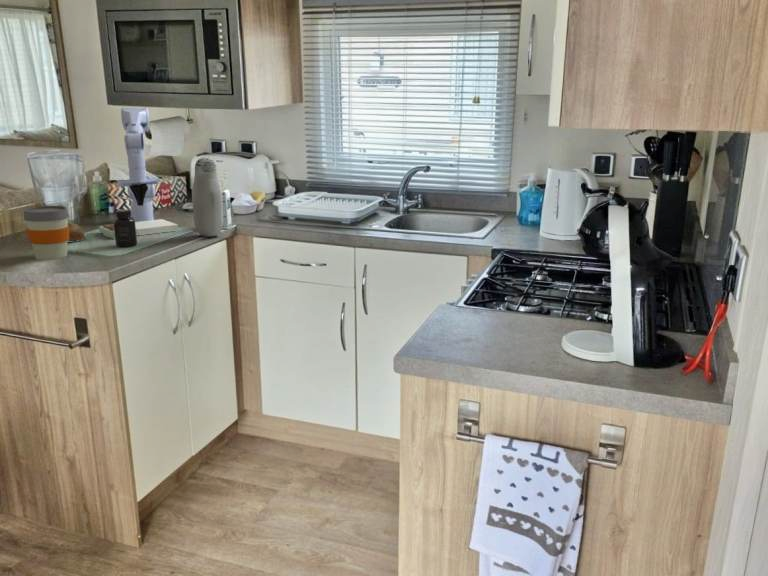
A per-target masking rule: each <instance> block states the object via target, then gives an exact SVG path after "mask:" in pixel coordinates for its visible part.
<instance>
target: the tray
mask: <svg viewBox="0 0 768 576" xmlns="http://www.w3.org/2000/svg"><path fill="white" fill-rule="evenodd" d="M98 231H99V232H101V233H103V234H105V235H107V236H109V237H111V238H115V232H114V231H111V230H109V229H107V228H104V227H103V225H100V226H99V225H98ZM99 232H98V233H99ZM101 233H100V234H101ZM103 234H102V235H103ZM105 235H104V236H105ZM107 236H106V237H107ZM136 236H137V237H139V236H138V229H136ZM109 237H108V238H109ZM111 238H110V239H111Z"/></svg>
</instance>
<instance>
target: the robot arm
mask: <svg viewBox="0 0 768 576" xmlns="http://www.w3.org/2000/svg"><path fill="white" fill-rule="evenodd" d="M120 113H121V114H120V117H121V123H122V126H123V127H122V128H123V129H124V131H125V135H124V146H125V151H126V155H127V166H128V175H129V179H126V180H116V184H117V185H116V186H117V187H119V188H123V187H127V192H128V193H127V194H128V198H129V199H130V200H132V201H131V203H130V210H131V217H132V218H133V219H134V220H135V222H141V221H150V220H155V218H154V209H153V208H154V207H153V199H155V198H156V189H155V185H159V184H160V180H159V178H157V177H156V178H154V177H151V176H150V175H148V174H147V169H146V160H145V159H146V158H145V148H146V143H145V132H148V131H149V128H150V117H149V116H150V115H149V109H148V107H124V106H123V107H122V108H120Z"/></svg>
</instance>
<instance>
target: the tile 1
mask: <svg viewBox="0 0 768 576" xmlns="http://www.w3.org/2000/svg"><path fill="white" fill-rule="evenodd" d="M113 225H114V223H107V224H103V225H102V226H103V227H104V228H107V229H109V230H111V229H110V227H111V226H113Z"/></svg>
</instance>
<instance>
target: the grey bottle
mask: <svg viewBox="0 0 768 576" xmlns="http://www.w3.org/2000/svg"><path fill="white" fill-rule="evenodd" d="M193 177H194V178H193V183H192V187H191V201H192V209H193V210H192V211H193V225H194V227H195V230H196V232H197V233H198V234H200V235H201V236H203V237H207V238H210V237H211V238H212V237H215V236H218V235H219V234H220V233H221V231H222V230H223V229H222V227H223V200H222V190H221V189H222V187H221V183H220V179H219V174H218V167H217V164H216V162H215V160H214V159H212V158H210V157H203V158H198V159H197V160H196V161H195V164H194V176H193Z"/></svg>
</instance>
